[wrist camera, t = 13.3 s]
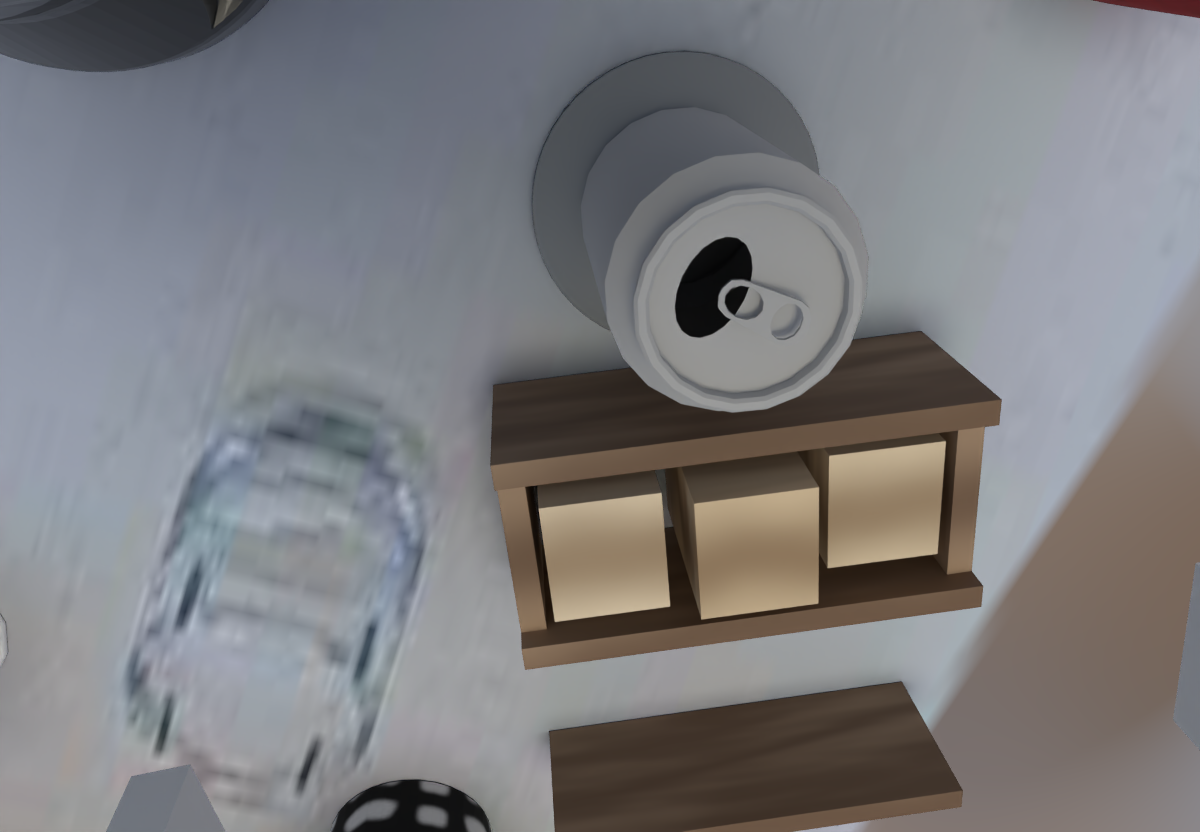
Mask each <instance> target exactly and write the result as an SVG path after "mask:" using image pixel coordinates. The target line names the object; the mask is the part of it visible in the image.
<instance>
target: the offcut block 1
mask: <svg viewBox="0 0 1200 832" xmlns="http://www.w3.org/2000/svg"><path fill="white" fill-rule="evenodd" d="M537 491H538V508H539V515H540V522H541V529H542V536H543V543H544V550H545V557H546V564H547V571H548V578H549V585H550V592H551V599H552V605H553V612H554V619H555V622H559V621H566V620H573V619H581V618H588V617H596V616H603V615H611V614H618V613H626V612H633V611H641V610H648V609H656V608H663V607H670V596H669V583H668V570H667V557H666V544H665V531H664V518H663V505H662V493H661V489H660V486H659V483H658V479H657V476H656V473H655V470H650V471H643V472H635V473H627V474H620V475H612V476H604V477H597V478H589V479H581V480H574V481H566V482H558V483H551V484H543V485H537Z"/></svg>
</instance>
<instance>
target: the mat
mask: <svg viewBox="0 0 1200 832" xmlns="http://www.w3.org/2000/svg"><path fill="white" fill-rule="evenodd" d="M690 107H696V108H700V109H704V110H708V111H712V112H716V113H719V114H723V115H726V116H728V117H730V118H731V119H733V120H734V121H736V122H737V123H739V124H741V125H742V126H744V127H745V128H747V129H748V130H750V131H751V132H753V133H755V134H756V135H758V136H759V137H761V138H762V139H764V140H766V141H767V142H769V143H770V144H772V145H773V146H775V147H777V148H778V149H780V150H781V151H783V152H784V153H786V154H788V155H789V156H791V157H792V158H794V159H795V160H797V161H799V162H800V163H802V164H803V165H805V166H806V167H807V168H809V169H810V170H812V171H813V172H815V173H816V174H818V175H819V168H818V163H817V158H816V153H815V150H814V147H813V144H812V141H811V138H810V135H809V133H808V131H807V129H806V127H805V125H804V123H803V121H802V119H801V118H800V116H799V115H798V113H797V112H796V110H795V109H794V107H793V106H792V104H791V103H790V102H789V101H788V100H787V99H786V98H785V96H784V95H783V94H782V93H781V92H780V91H779V90H778V89H777V88H776V87H775V86H773V85H772V84H771V83H770V82H768V81H767V80H766V79H765V78H764V77H762V76H761V75H759V74H757V73H756V72H754V71H752V70H751V69H749V68H747V67H745V66H743V65H741V64H738V63H736V62H733V61H731V60H728V59H726V58H722V57H718V56H714V55H710V54H706V53H697V52H687V51H683V52H665V53H659V54H654V55H648V56H644V57H641V58H638V59H635V60H632V61H629V62H627V63H625V64H623V65H621V66H619V67H617V68H614V69H612V70H610V71H609V72H607V73H606V74H604V75H603V76H601V77H600V78H598V79H597V80H595V81H594V82H592V83H591V84H590V85H589V86H588V87H586V88H585V89H584V90H583V91H582V92H581V93H580V94H579V95H577V96H576V98H575V99H574V100H573V101H572V102H571V103H570V104H569V106H568V107H567V108H566V109H565V110H564V111H563V113H562V114H561V116H560V117H559V119H558V120H557V122H556V123H555V125H554V126H553V128H552V130H551V132H550V134H549V136H548V138H547V140H546V142H545V144H544V146H543V149H542V152H541V155H540V158H539V161H538V164H537V169H536V174H535V179H534V184H533V198H532V208H533V223H534V229H535V234H536V239H537V244H538V247H539V250H540V253H541V256H542V258H543V261H544V263H545V265H546V267H547V269H548V271H549V273H550V275H551V277H552V279H553V280H554V282H555V283H556V285H557V286H558V288H559V289H560V291H561V292H562V293H563V294H564V295H565V297H566V298H567V299H568V300H569V301H570V302H571V303H572V304H573V306H575V307H576V308H577V309H578V310H579V311H580V312H582V313H583V314H584V315H585V316H586V317H588V318H589V319H591V320H592V321H594V322H595V323H597V324H598V325H600V326H601V327H604V328H606V329H608V330H610V331H611V329H610V327H609V325H608V322H607V319H606V315H605V312H604V308H603V305H602V301H601V298H600V294H599V291H598V287H597V284H596V280H595V277H594V273H593V270H592V266H591V263H590V259H589V256H588V252H587V249H586V245H585V242H584V238H583V229H582V216H581V202H582V198H583V194H584V190H585V186H586V182H587V177H588V174H589V172H590V170H591V169H592V167H593V165H594V164H595V162H596V160H597V159H598V157H599V155H600V154H601V152H602V151H603V149H604V147H605V146H606V145H607V144H608V143H609V142H610V141H611V140H612V139H613V138H615V137H616V136H617V135H618V134H619V133H620V132H621V131H623V130H624V129H625V128H626V127H627V126H628V125H629V124H631V123H632V122H635V121H637V120H639V119H642V118H644V117H646V116H649V115H651V114H653V113H656V112H658V111H660V110H666V109H678V108H690Z"/></svg>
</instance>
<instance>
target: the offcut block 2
mask: <svg viewBox="0 0 1200 832" xmlns="http://www.w3.org/2000/svg"><path fill="white" fill-rule="evenodd" d="M665 478H666V491H667V503H668V510H669V514H670V517H671V520H672V524H673V527H674V530H675V534H676V537H677V540H678V543H679V547H680V550H681V553H682V557H683V560H684V563H685V567H686V570H687V573H688V577H689V580H690V583H691V587H692V590H693V593H694V597H695V600H696V603H697V606H698V610H699V613H700V616H701V620H702V619H709V618H716V617H723V616H731V615H738V614H745V613H753V612H760V611H767V610H775V609H782V608H789V607H797V606H804V605H811V604H818V589H819V486H818V485H817V483H816V481H815V480H814V478H813V477H812V475H811V473H810V472H809V470H808V468H807V467H806V465H805V463H804V462H803V460H802V459H801V457H800V455H799V454H798V452H797V451H796V452H789V453H781V454H773V455H766V456H758V457H750V458H743V459H735V460H727V461H719V462H712V463H704V464H696V465H689V466H681V467H673V468H666V469H665Z"/></svg>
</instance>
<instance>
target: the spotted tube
mask: <svg viewBox="0 0 1200 832" xmlns="http://www.w3.org/2000/svg"><path fill="white" fill-rule="evenodd" d="M331 832H491V829H490V824H489V821H488V819H487V817H486V815H485V813H484V811H483V810H482V809H481V808H480V807H479V806H478V805H477V803H476V802H475V801H473V800H472V799H471V798H469V797H468V796H467V795H465V794H464V793H462V792H460V791H458V790H456V789H454V788H451V787H449V786H445V785H442V784H439V783H435V782H427V781H420V780H415V781H397V782H391V783H386V784H383V785H379V786H376V787H373V788H371V789H369V790H367V791H365V792H363V793H361V794H359V795H357V796H356V797H355V798H353V799H352V800H350V801H349V802H348V803H347V804H346V805H345V806H344V807H343V808H342V809H341V811H340V812H339V813H338V815H337V817H336V818H335V820H334V822H333V825H332V829H331Z"/></svg>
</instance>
